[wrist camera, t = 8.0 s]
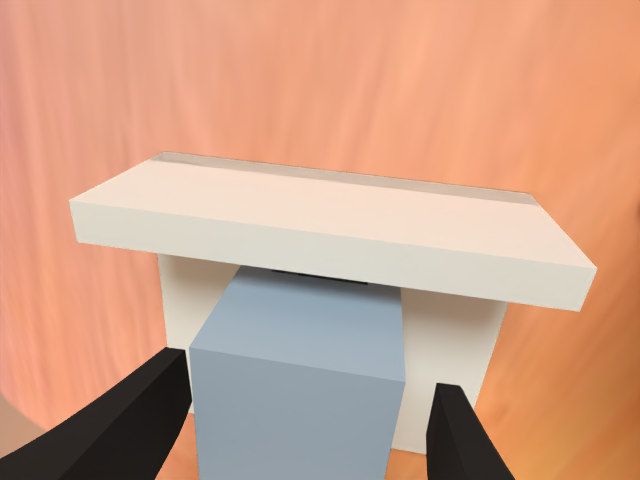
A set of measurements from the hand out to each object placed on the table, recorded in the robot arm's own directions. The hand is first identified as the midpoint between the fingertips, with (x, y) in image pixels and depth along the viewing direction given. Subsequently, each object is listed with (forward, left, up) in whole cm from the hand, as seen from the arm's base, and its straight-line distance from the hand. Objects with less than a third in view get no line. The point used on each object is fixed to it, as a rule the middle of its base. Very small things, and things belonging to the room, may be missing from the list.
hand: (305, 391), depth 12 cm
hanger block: (0, +1, -4) cm, 5 cm away
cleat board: (0, +1, -6) cm, 6 cm away
